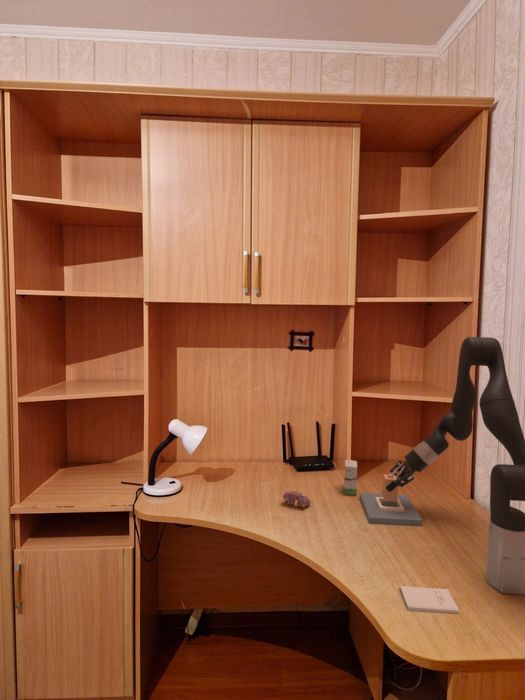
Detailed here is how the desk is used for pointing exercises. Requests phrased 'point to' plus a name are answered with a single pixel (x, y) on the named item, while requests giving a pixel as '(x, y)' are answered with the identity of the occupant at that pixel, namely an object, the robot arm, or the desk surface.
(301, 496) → the purple lumpy oblong
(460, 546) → the desk surface
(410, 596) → the external hard drive
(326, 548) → the desk surface
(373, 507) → the board
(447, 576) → the desk surface
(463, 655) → the desk surface
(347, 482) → the ink box
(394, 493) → the block
